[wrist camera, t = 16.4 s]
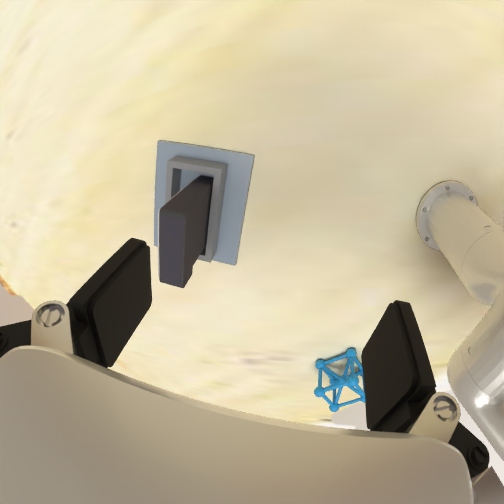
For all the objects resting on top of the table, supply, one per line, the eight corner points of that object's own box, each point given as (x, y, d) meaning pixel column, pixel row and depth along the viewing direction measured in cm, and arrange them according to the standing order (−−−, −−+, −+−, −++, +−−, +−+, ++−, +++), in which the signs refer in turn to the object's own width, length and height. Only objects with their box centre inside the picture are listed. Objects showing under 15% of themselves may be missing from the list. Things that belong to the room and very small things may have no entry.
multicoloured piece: (196, 173, 46) (153, 207, 33) (221, 178, 46) (186, 214, 33) (191, 233, 52) (154, 281, 39) (214, 238, 51) (183, 290, 39)
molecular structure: (332, 381, 67) (331, 414, 58) (313, 359, 64) (311, 394, 55) (369, 368, 63) (372, 402, 54) (353, 344, 59) (356, 381, 51)
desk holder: (254, 155, 44) (249, 161, 40) (236, 263, 54) (230, 277, 50) (160, 140, 45) (146, 145, 41) (156, 243, 55) (145, 255, 51)
